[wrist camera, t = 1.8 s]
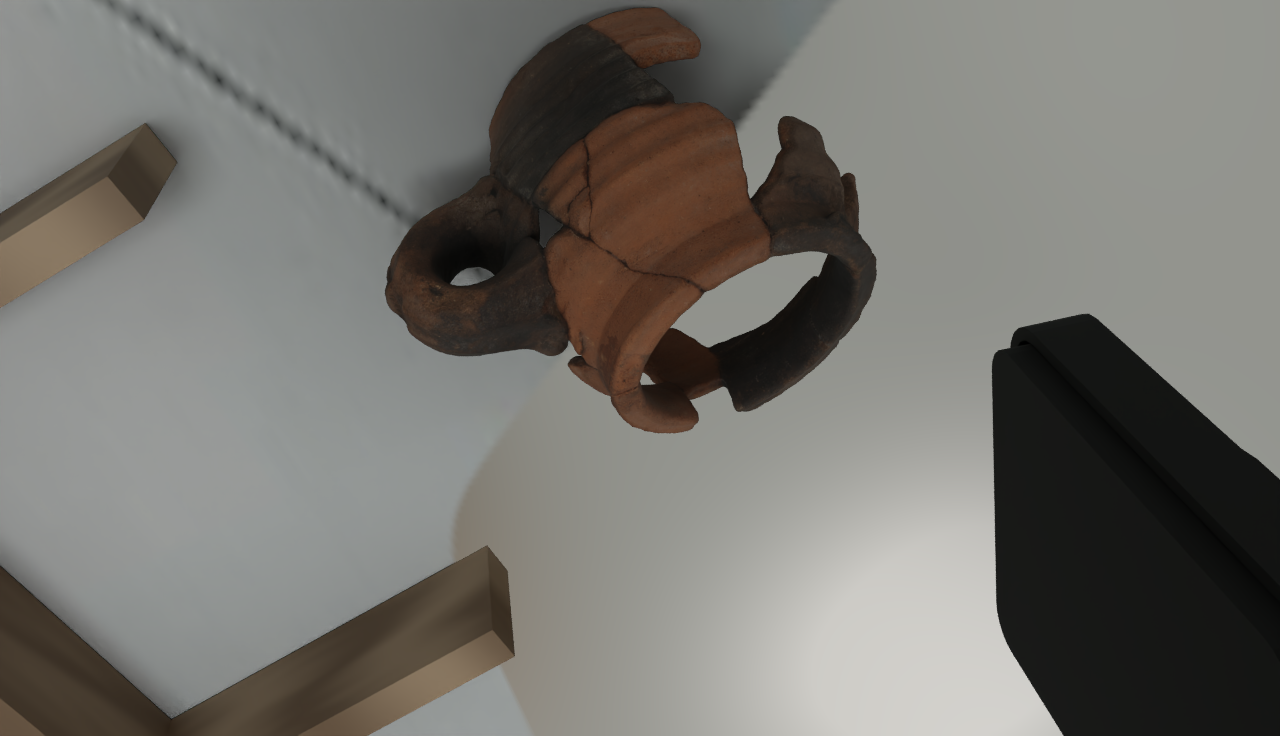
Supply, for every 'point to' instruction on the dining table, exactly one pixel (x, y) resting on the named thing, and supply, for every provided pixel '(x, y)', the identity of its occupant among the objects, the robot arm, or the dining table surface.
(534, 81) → the brown wooden sculpture
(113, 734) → the u-shaped wooden frame
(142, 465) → the dining table surface
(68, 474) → the dining table surface
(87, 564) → the dining table surface
